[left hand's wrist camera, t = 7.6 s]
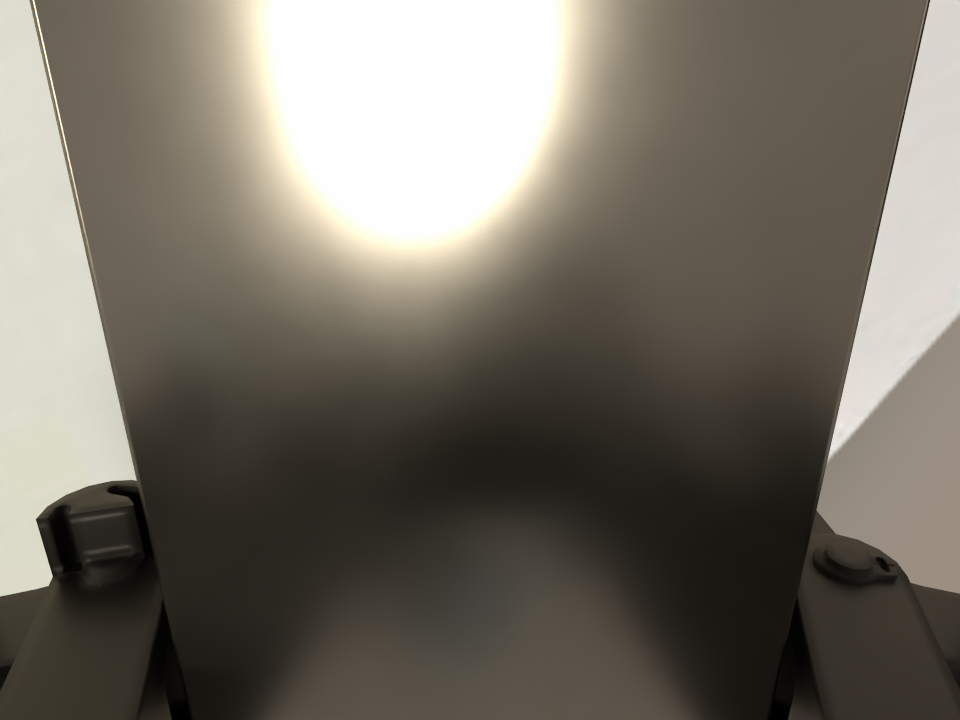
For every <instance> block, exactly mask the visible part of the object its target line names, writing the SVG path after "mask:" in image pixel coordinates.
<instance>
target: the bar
mask: <svg viewBox="0 0 960 720" xmlns="http://www.w3.org/2000/svg"><path fill="white" fill-rule="evenodd" d="M929 3H930V0H30V4H31V9H32V13H33V18H34V22H35V27H36V31H37V36H38V40H39V45H40V49H41V54H42V58H43V63H44V67H45V72H46V76H47V80H48V85H49V89H50V94H51V98H52V103H53V107H54V112H55V116H56V121H57V125H58V130H59V134H60V139H61V143H62V148H63V152H64V157H65V161H66V166H67V170H68V174H69V179H70V183H71V188H72V192H73V197H74V201H75V206H76V210H77V215H78V219H79V224H80V228H81V233H82V237H83V242H84V246H85V251H86V255H87V260H88V264H89V269H90V273H91V277H92V282H93V286H94V291H95V295H96V300H97V304H98V309H99V313H100V318H101V322H102V327H103V331H104V336H105V340H106V345H107V349H108V354H109V358H110V363H111V367H112V371H113V376H114V380H115V385H116V389H117V394H118V398H119V403H120V407H121V412H122V416H123V421H124V425H125V430H126V434H127V439H128V443H129V448H130V452H131V457H132V461H133V465H134V470H135V474H136V479H137V483H138V488H139V492H140V497H141V501H142V506H143V510H144V515H145V519H146V524H147V528H148V533H149V537H150V542H151V546H152V551H153V555H154V560H155V564H156V568H157V573H158V577H159V582H160V586H161V591H162V595H163V600H164V604H165V609H166V613H167V618H168V622H169V627H170V631H171V636H172V640H173V645H174V649H175V654H176V658H177V662H178V667H179V671H180V676H181V680H182V685H183V689H184V694H185V698H186V703H187V707H188V712H189V716H190V720H769V719H770V715H771V710H772V706H773V701H774V697H775V692H776V688H777V683H778V679H779V674H780V670H781V665H782V661H783V656H784V652H785V647H786V643H787V638H788V634H789V630H790V625H791V621H792V616H793V612H794V607H795V603H796V598H797V594H798V589H799V585H800V580H801V576H802V571H803V567H804V562H805V558H806V553H807V549H808V544H809V540H810V536H811V531H812V527H813V522H814V518H815V513H816V509H817V504H818V500H819V495H820V491H821V486H822V482H823V477H824V473H825V468H826V464H827V459H828V455H829V450H830V446H831V442H832V437H833V433H834V428H835V424H836V419H837V415H838V410H839V406H840V401H841V397H842V392H843V388H844V383H845V379H846V374H847V370H848V365H849V361H850V357H851V352H852V348H853V343H854V339H855V334H856V330H857V325H858V321H859V316H860V312H861V307H862V303H863V298H864V294H865V289H866V285H867V280H868V276H869V271H870V267H871V263H872V258H873V254H874V249H875V245H876V240H877V236H878V231H879V227H880V222H881V218H882V213H883V209H884V204H885V200H886V195H887V191H888V186H889V182H890V177H891V173H892V169H893V164H894V160H895V155H896V151H897V146H898V142H899V137H900V133H901V128H902V124H903V119H904V115H905V110H906V106H907V101H908V97H909V92H910V88H911V83H912V79H913V75H914V70H915V66H916V61H917V57H918V52H919V48H920V43H921V39H922V34H923V30H924V25H925V21H926V16H927V12H928V7H929Z"/></svg>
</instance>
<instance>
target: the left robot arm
mask: <svg viewBox="0 0 960 720" xmlns="http://www.w3.org/2000/svg"><path fill="white" fill-rule="evenodd" d="M36 521H37V524H38V528H39V531H40V534H41V538H42V541H43V545H44V548H45V551H46V555H47V558H48V561H49V565H50V568H51V572H52V575H53V578H52V580H51V582H50V584H49V586H47V587H43V588H39V589H35V590H30V591H26V592H21V593H16V594H11V595H6V596H1V597H0V720H190V716H189V712H188V707H187V703H186V698H185V694H184V689H183V685H182V680H181V676H180V671H179V667H178V662H177V658H176V654H175V649H174V645H173V640H172V636H171V631H170V627H169V622H168V618H167V613H166V609H165V604H164V600H163V595H162V591H161V586H160V582H159V577H158V573H157V568H156V564H155V560H154V555H153V551H152V546H151V542H150V537H149V533H148V528H147V524H146V519H145V515H144V510H143V506H142V501H141V497H140V492H139V488H138V483H137V481H134V480H125V481H110V482H105V483H101V484H96V485H92V486H88V487H85V488H83V489H80V490H78V491H75V492H73V493H70V494H67V495H65V496H64V497H62V498H61V499H59V500H57V501H56V502H54V503H52V504H51V505H49V506H48V507H47V508H46V509H45V510H44V511H43V512H42V513H41V514H40V515H39V517H38V518H37V519H36ZM769 720H960V594H958V593H953V592H948V591H943V590H938V589H934V588H929V587H924V586H920V585H916V584H912V583H910V581H909V579H908V577H907V575H906V574H905V572H904V571H903V570H902V569H901V567H900V566H899V565H898V563H897V562H896V561H894V560H893V559H892V558H890V557H889V556H887V555H886V554H885V553H883V552H882V551H881V550H879V549H877V548H875V547H873V546H870V545H868V544H866V543H864V542H862V541H859V540H857V539H853V538H849V537H845V536H841V535H837V534H835V533H834V531H833V530H832V529H831V528H830V527H829V525H828V524H827V523H826V522H825V520H824V519H823V518H822V517H821V516H820V514H819V513H818V512H817V511H816V513H815V518H814V522H813V527H812V531H811V536H810V540H809V544H808V549H807V553H806V558H805V562H804V567H803V571H802V576H801V580H800V585H799V589H798V594H797V598H796V603H795V607H794V612H793V616H792V621H791V625H790V630H789V634H788V638H787V643H786V647H785V652H784V656H783V661H782V665H781V670H780V674H779V679H778V683H777V688H776V692H775V697H774V701H773V706H772V710H771V715H770V719H769Z"/></svg>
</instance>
